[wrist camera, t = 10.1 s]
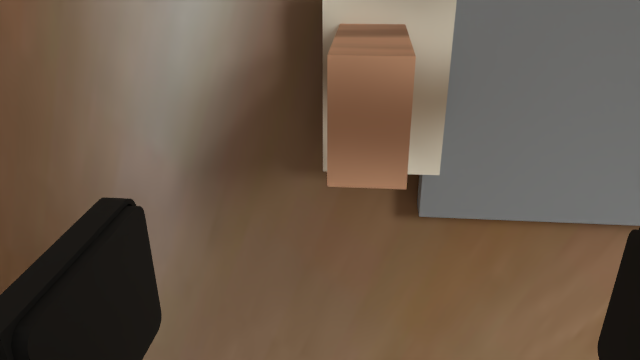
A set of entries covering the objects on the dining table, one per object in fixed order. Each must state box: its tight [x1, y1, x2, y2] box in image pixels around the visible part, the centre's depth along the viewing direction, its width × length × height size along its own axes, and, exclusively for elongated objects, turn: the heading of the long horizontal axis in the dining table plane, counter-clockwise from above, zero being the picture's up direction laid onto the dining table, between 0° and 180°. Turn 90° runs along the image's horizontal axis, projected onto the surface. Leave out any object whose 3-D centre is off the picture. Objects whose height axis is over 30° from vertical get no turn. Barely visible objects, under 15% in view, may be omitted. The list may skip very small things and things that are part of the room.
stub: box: [322, 0, 457, 189], centre depth 23 cm, size 10×6×8 cm, turn 0°
